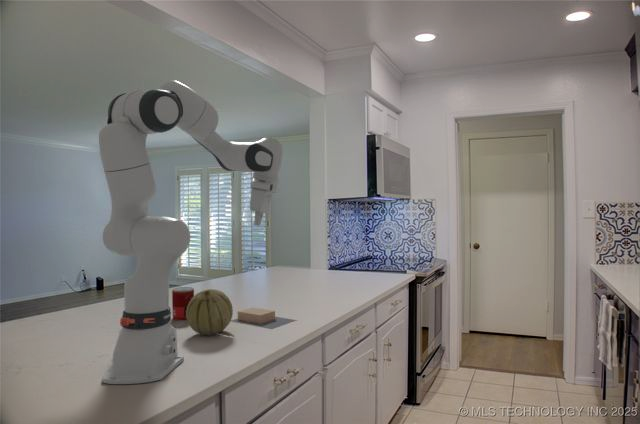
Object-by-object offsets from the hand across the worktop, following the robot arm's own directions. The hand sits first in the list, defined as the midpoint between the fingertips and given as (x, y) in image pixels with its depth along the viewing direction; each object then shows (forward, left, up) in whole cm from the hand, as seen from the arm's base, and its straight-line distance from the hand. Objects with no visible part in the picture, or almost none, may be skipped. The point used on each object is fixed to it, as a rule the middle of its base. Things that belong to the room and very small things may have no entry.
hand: (257, 225), depth 153 cm
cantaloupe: (-6, +15, -35) cm, 39 cm away
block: (+6, -3, -33) cm, 34 cm away
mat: (+7, -2, -35) cm, 36 cm away
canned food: (+18, +28, -35) cm, 49 cm away
